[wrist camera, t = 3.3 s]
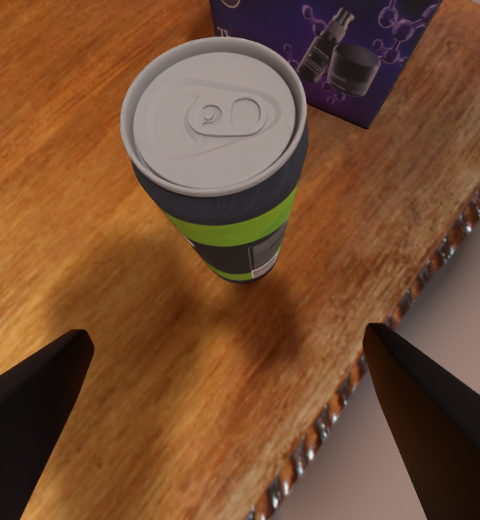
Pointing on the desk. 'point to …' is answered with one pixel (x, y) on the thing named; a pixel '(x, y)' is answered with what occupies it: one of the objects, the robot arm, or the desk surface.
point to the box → (334, 45)
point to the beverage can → (220, 148)
